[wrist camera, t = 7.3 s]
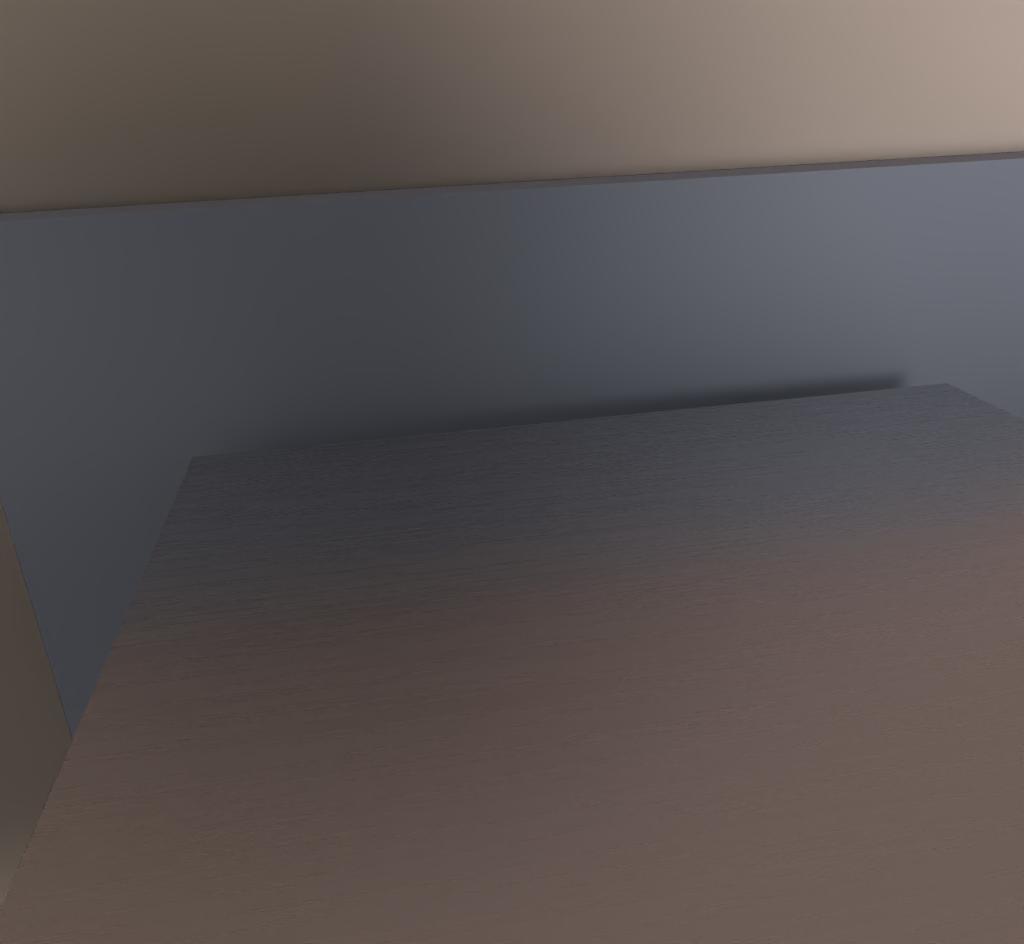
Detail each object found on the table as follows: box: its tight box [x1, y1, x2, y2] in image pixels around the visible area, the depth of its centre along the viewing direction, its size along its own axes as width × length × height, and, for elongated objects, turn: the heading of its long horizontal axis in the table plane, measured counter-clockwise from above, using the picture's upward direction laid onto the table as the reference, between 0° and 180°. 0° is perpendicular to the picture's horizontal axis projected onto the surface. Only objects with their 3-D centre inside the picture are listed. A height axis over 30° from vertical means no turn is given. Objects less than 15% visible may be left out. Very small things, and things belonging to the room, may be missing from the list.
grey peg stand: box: [0, 152, 1024, 739], centre depth 7 cm, size 10×10×6 cm
